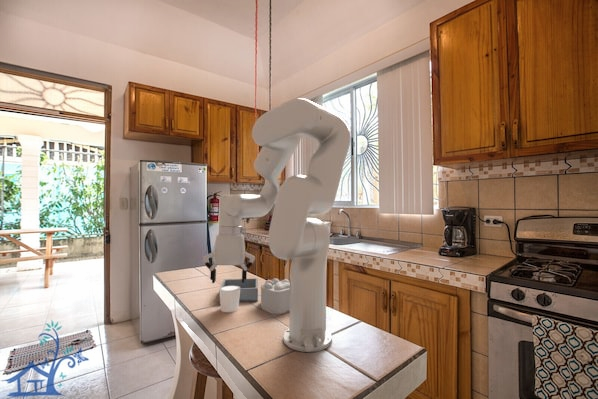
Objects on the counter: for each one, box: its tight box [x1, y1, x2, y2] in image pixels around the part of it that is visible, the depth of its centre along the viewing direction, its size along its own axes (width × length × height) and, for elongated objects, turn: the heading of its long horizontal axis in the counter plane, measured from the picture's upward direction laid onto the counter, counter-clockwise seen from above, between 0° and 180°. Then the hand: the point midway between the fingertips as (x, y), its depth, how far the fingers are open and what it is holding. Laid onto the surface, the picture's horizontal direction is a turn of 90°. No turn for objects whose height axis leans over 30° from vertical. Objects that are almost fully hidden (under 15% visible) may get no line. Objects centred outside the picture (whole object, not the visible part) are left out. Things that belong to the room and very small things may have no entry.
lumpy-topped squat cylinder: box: [260, 277, 290, 315], centre depth 94 cm, size 10×13×9 cm
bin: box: [218, 277, 259, 304], centre depth 104 cm, size 14×14×5 cm
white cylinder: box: [219, 285, 240, 313], centre depth 91 cm, size 7×7×7 cm
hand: (228, 281), depth 91 cm, fingers open, 9 cm apart
